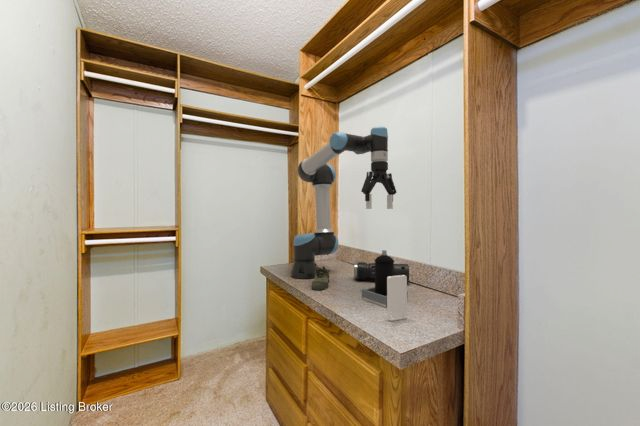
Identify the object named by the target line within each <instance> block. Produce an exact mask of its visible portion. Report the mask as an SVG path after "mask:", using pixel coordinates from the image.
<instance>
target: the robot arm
mask: <svg viewBox="0 0 640 426" xmlns="http://www.w3.org/2000/svg"><path fill="white" fill-rule="evenodd" d="M388 142H389V134H388V128H387V127H386V126H374V127H372V128H371V129H370V134H367V135H366V136H361V135H356V134H350V133H345V132H339V131H335V132H333V133H332V134H331V136H330V137H329V142H328V143H326V144H325V145H324V146H322V147H321V148H320V149H319V150H318V151H316V152H315V153H314V154H312V155H311V156H310V157H308V158H305V159H303V160H302V161H300V163H299V164H298V166H297V175H298V177H299V178H300V180H302V181H304V182H306V183H311V185H312V188H313V189H314V193H315V194H314V195H315V196H314V197H315V218H316V220H315V222H316V229H315V231H314V233H313V232H311V233H309V232H308V233H301V234H297V235H294V238H293V264H292V268H291V270H290V271H291V272H290V277H292V278H294V279H313V278H315V271H316V270H318V269H316V268H317V267H318V266H316V265H315V263H316V261H315V257H316V256H325V255H327V256H328V255H332V254H334V253H336V252H337V250H338V248H339V237H338V236H337V235H336V234H335V231H334V230H333V229H332V221H331V219H332V218H331V214H332V213H331V199H330V198H331V196H330V193H331V192H330V188H331V187H332V186H333V185H332V184H333V183H334V182H335V180H336V170H335V168H334V167H333V166H332V165H331V164H328V163H329V162H331V161H333V160H334V159H335V158H337V157H338V156H340V154H342V153H344V152H353V153H354V154H355V155H364V154H367V153H370V162H371V163H370V171H367V172H366V177H365V180H364V183H363V185H362V188H361V193H363V194H364V201H365V207H366V208H365V209H366V210H369V209H372V208H373V207H372V206H373V204H372V202H373V201H372V200H373V198H372V197H373V196H372V195H373V194H372V193H371V192H372V191H373V189H374V187H375V186H376V184H377V183H379V184H382V185H383V188H384V189H385V191H386V193H387V195H386V209H387V210H391V209H393V207H394V206H393V202H394V196H395V195H396V194H397V189H396V186H395V183H394V181H393V177H392V176H393V175H392V172H391V173H387V171H388V170H389V163H388V161H389V158H388V156H389V154H388V153H389V150H388V149H389V148H388V147H389V146H388Z"/></svg>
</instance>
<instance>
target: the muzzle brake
mask: <svg viewBox="0 0 640 426" xmlns="http://www.w3.org/2000/svg"><path fill="white" fill-rule="evenodd" d="M398 275H405V276H406V277H407V284H409V282H410V266H409V264H408V263H394V276H398ZM353 278H354V279H355V280H357V281H367V282H375V262H369V263H367V262H365V261H364V262H363V261H361V262H360V261H359V262H357V263H354V264H353Z"/></svg>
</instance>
